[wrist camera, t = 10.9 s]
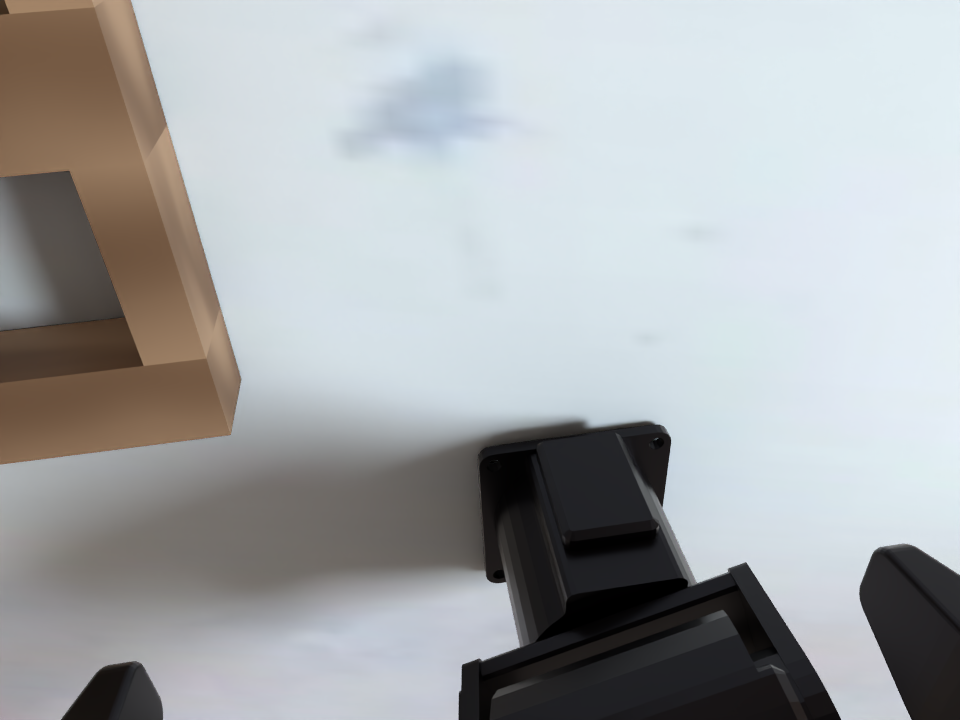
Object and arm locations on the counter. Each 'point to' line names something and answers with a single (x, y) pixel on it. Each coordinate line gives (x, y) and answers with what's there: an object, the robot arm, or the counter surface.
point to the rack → (108, 245)
